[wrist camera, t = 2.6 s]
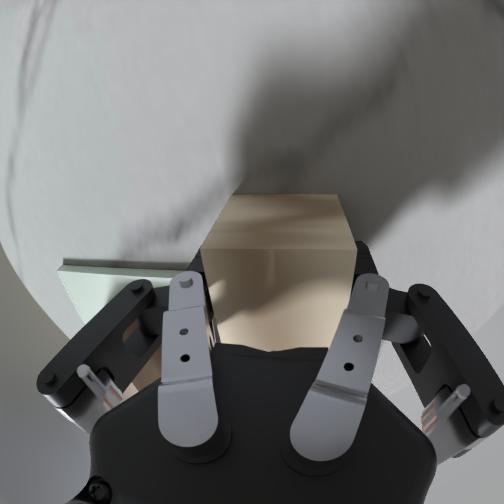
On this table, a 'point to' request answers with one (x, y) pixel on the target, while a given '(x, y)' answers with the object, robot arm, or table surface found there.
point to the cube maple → (279, 270)
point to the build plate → (104, 284)
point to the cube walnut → (143, 369)
